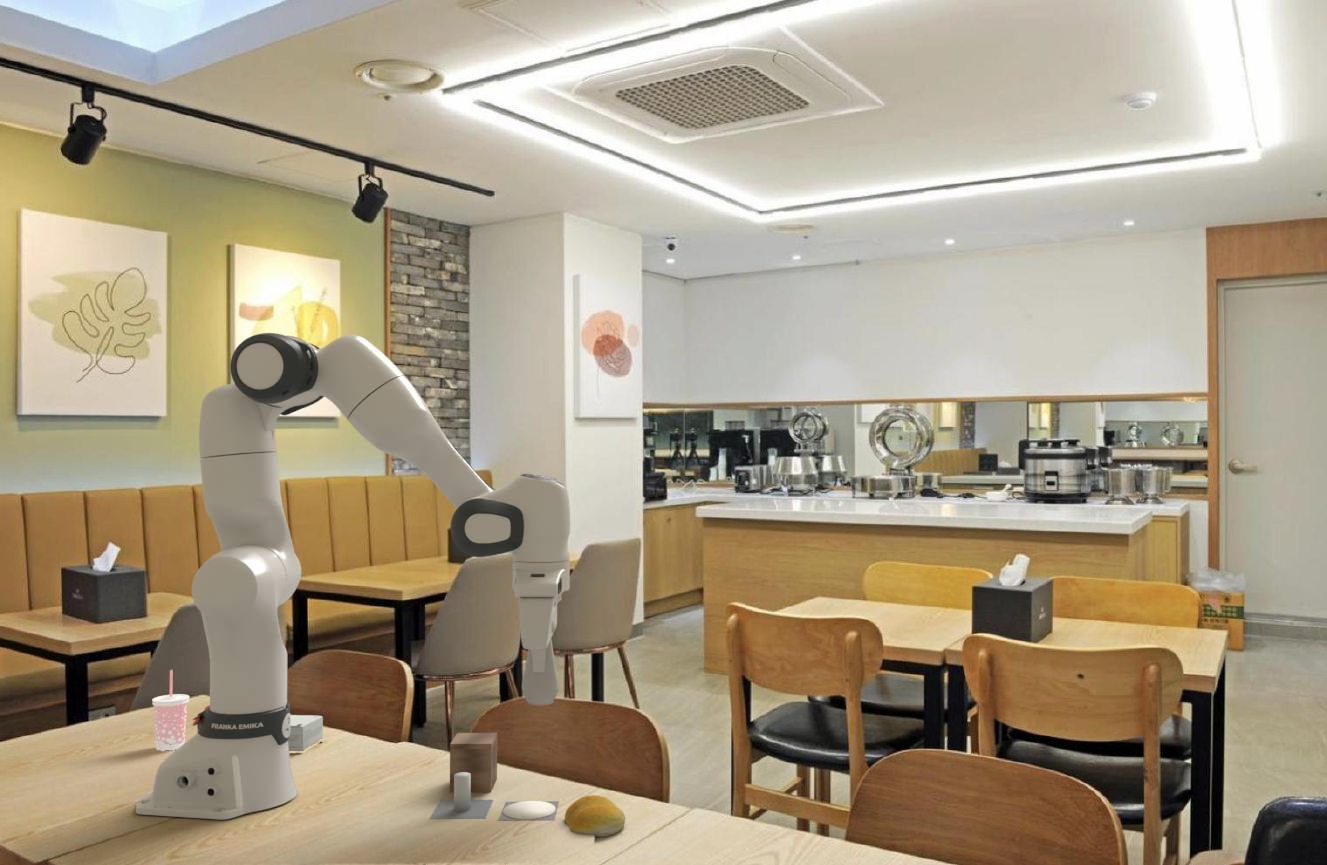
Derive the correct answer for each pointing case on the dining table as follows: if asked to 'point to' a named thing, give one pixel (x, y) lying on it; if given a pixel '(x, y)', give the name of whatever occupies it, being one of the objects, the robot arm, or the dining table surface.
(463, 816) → the board
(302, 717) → the small box
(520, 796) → the dining table surface
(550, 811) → the board
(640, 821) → the dining table surface
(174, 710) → the beverage cup
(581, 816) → the bread roll
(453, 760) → the brown wooden block
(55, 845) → the dining table surface
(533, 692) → the salt shaker
